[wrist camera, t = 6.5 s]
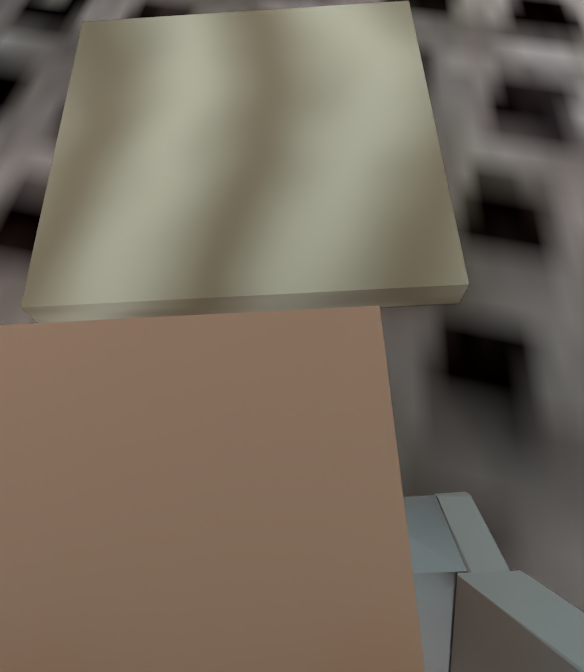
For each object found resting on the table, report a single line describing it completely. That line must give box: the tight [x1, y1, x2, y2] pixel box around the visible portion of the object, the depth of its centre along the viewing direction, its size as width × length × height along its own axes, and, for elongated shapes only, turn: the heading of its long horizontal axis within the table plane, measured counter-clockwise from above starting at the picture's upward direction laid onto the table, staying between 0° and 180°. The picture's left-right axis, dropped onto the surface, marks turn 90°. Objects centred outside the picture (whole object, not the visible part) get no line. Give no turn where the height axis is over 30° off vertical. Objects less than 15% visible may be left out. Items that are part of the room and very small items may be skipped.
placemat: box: [21, 1, 469, 323], centre depth 20 cm, size 14×14×1 cm
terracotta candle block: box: [0, 306, 425, 672], centre depth 9 cm, size 5×5×10 cm
